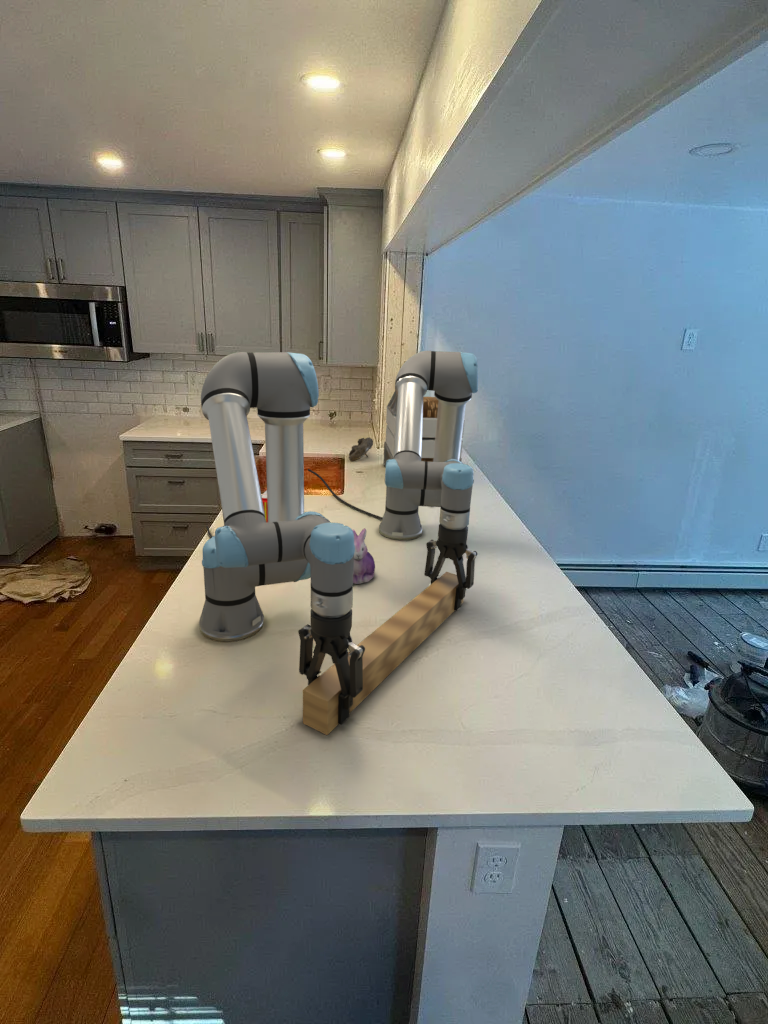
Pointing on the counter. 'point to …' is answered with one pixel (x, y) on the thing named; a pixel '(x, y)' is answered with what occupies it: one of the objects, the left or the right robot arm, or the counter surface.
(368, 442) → the fossil
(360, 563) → the figurine
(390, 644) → the post
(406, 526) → the right robot arm
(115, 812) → the counter surface
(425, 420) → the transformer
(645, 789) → the counter surface
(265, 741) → the counter surface
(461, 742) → the counter surface
